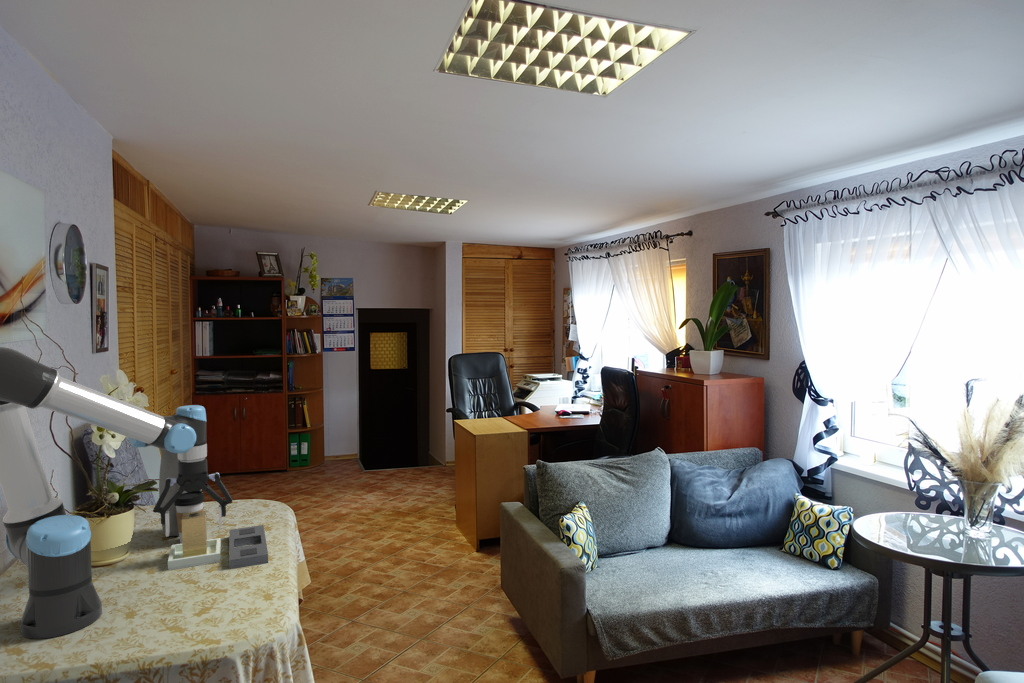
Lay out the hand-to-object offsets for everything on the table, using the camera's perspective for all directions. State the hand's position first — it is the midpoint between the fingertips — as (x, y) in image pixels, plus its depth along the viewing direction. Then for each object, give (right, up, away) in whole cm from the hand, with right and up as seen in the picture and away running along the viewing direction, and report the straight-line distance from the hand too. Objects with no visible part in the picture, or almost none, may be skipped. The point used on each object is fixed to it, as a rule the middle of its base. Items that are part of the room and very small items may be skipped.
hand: (194, 531), depth 176 cm
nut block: (0, -7, 0) cm, 7 cm away
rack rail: (+13, -7, +6) cm, 16 cm away
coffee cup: (-8, -7, +13) cm, 17 cm away
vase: (-15, -7, +20) cm, 26 cm away
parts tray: (0, -8, 0) cm, 8 cm away
